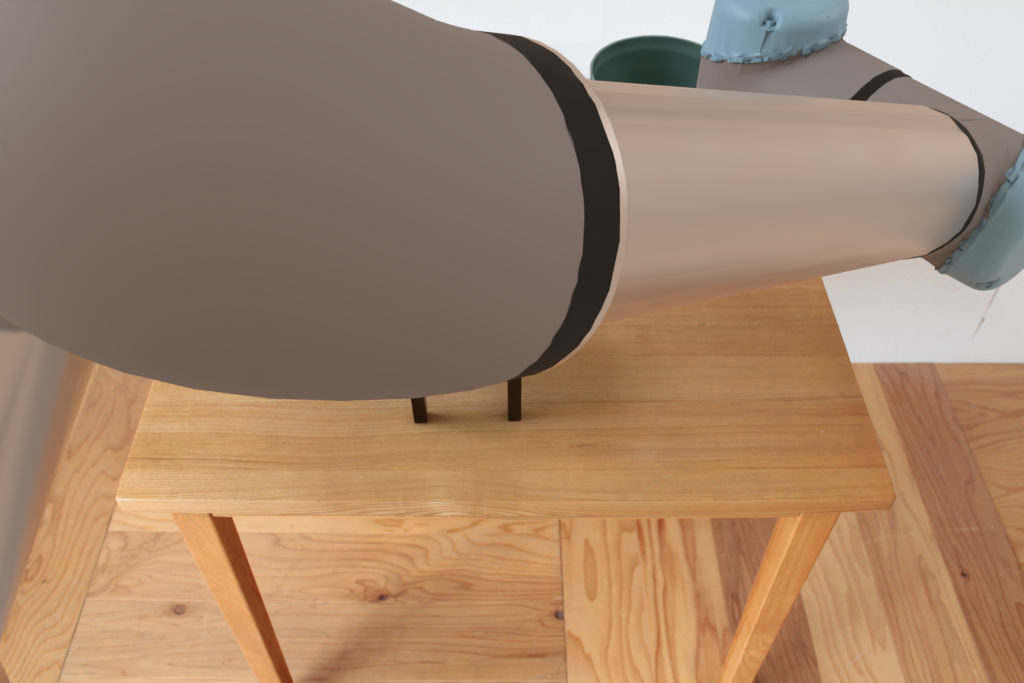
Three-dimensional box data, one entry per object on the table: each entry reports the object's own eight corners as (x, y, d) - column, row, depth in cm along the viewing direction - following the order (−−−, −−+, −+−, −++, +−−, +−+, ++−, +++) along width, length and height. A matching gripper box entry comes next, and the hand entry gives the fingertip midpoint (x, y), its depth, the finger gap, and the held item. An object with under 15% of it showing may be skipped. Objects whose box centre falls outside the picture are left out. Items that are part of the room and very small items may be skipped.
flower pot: (714, 117, 108) (731, 38, 100) (721, 199, 97) (741, 117, 89) (586, 109, 109) (593, 30, 101) (580, 189, 98) (586, 108, 90)
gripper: (539, 283, 59) (278, 183, 67) (649, 135, 71) (416, 64, 78) (542, 198, 54) (257, 100, 61) (660, 53, 65) (408, -16, 72)
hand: (346, 80), depth 70 cm, fingers closed on blue cup, 7 cm apart
